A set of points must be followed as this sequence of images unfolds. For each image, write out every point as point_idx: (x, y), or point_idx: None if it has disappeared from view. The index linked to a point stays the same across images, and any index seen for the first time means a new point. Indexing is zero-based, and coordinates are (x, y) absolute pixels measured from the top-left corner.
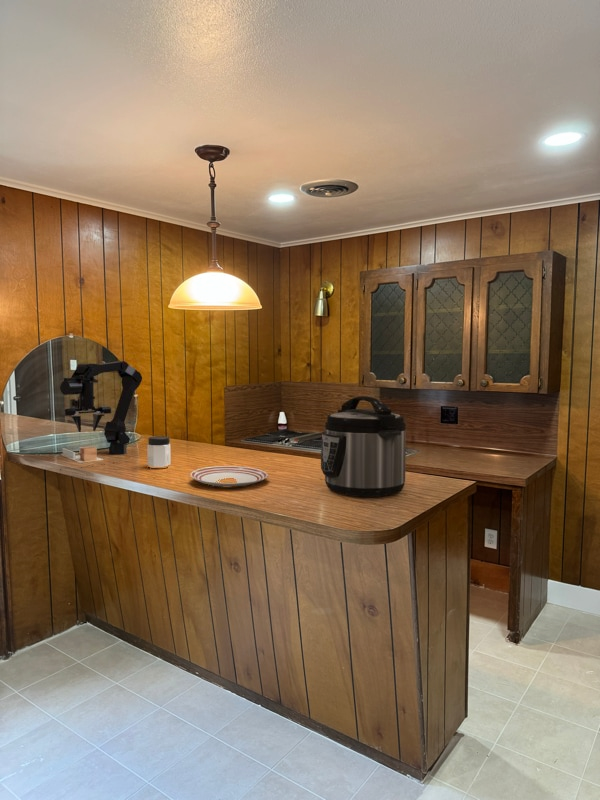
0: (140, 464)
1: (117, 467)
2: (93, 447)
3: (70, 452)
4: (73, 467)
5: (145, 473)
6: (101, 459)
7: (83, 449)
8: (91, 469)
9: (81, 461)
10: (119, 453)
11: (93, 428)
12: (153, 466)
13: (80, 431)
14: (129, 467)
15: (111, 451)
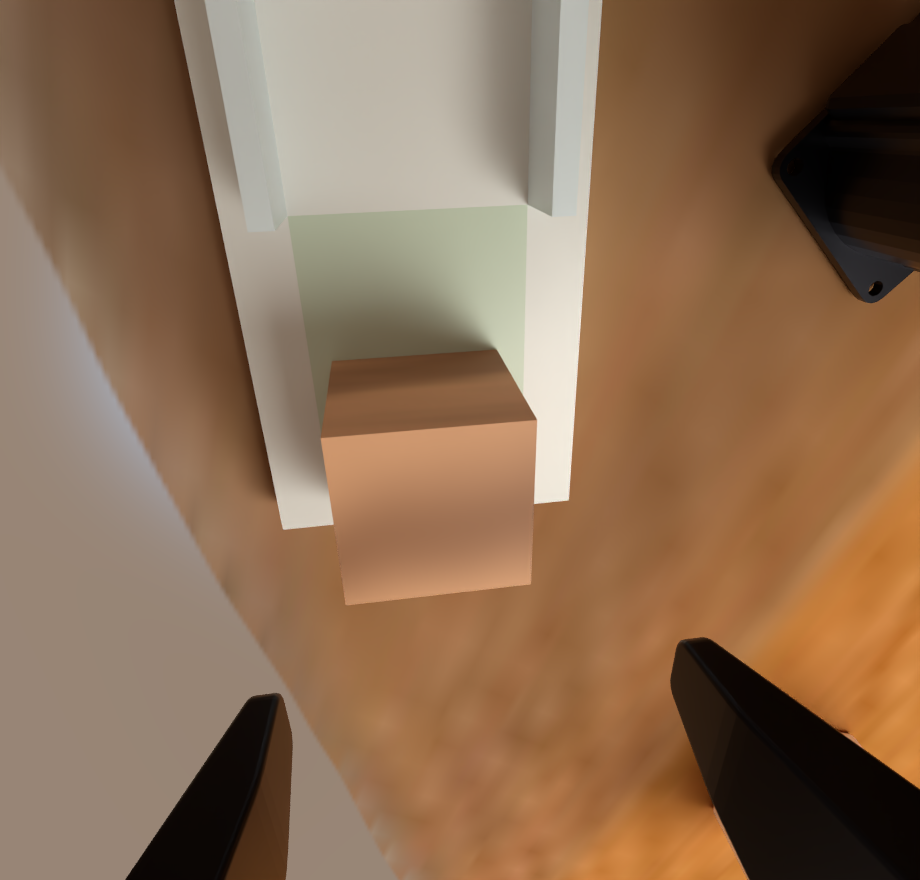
0: (761, 652)
1: (563, 686)
2: (512, 526)
3: (215, 33)
4: (217, 543)
5: (606, 873)
6: (552, 478)
7: (341, 572)
8: (355, 681)
9: (317, 493)
10: (901, 263)
11: (710, 720)
12: (721, 827)
13: (285, 767)
14: (633, 715)
15: (882, 151)
